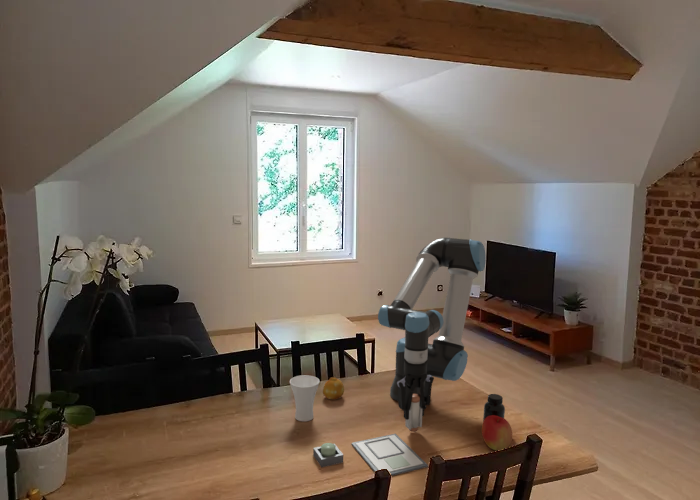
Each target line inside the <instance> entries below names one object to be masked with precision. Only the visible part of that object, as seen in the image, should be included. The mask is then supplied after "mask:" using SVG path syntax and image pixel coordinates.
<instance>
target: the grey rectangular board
mask: <svg viewBox="0 0 700 500" xmlns="http://www.w3.org/2000/svg"><path fill="white" fill-rule="evenodd" d="M350 444H351V446H352V447H353V448H354V449H355V451H356V452H357V453H358V454H359V455H360V456H361V458H362V459H363V460H364V461H365V463H366V464H367V465H368V466H369V467H370V469H371V470H372V472H373V473H375V471H377V470H381V469H387V470H388V471H389V472H390V473H391V475H392V476H396V475H401V474H405V473H409V472H412V471H413V472H414V471H417V470H420V469H425V468H426V469H427V468H428V467H429V465H428V463H427V462H426V461H424V459H422V457H420V455H418V454H417V453H416V451H414V450H413V449H412V448H411V447H410V446H409V445H408V444H407V443H406V442H405V441H404V440H403V439H402V438H401V437H399V435H397V433H391V434H386V435H382V436H378V437H372V438H368V439H363V440H359V441H353V442H351V443H350ZM392 476H391V477H392Z"/></svg>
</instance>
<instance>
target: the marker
mask: <svg viewBox="0 0 700 500" xmlns="http://www.w3.org/2000/svg"><path fill="white" fill-rule="evenodd" d="M419 404H420V396H419V395H418V394H413V396H412V401H411V407H410V410H411V411H412V425H411V429H410V430H409V432H411V433H415V432H418V431H419V428H420V427H419Z"/></svg>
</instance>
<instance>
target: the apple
mask: <svg viewBox="0 0 700 500" xmlns="http://www.w3.org/2000/svg"><path fill="white" fill-rule="evenodd" d="M481 436H482V438H483V441H484V443H485V444H486V446H488V447H489V448H490V449H491V450H493V451H497V450H500V451H502V450H501V449H503V450H505V449H506V448H508V447H509V446H510V445H511V443H512V441H513V429H512V427H511V424H510V423H509V421H508V420H507V419H506V418H505V417H504V418H502V417H499V416H495V415H491V416H488V417H486V418H485V419H484V421H483V420H482V425H481ZM504 448H505V449H504Z"/></svg>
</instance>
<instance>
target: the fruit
mask: <svg viewBox="0 0 700 500" xmlns="http://www.w3.org/2000/svg"><path fill="white" fill-rule="evenodd" d="M344 393H345V387H344V384H343V381H342V380H340V379H338V378H337V377H335V376H332V377H330V378H329V379H328V380H327V381H325V383H324V385H323V387H322V394H323V396H324V397H325V398H326V399H328V400H332V401H333V400H334V401H335V400H338V399H340V398H342V397H343V395H344Z"/></svg>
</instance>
